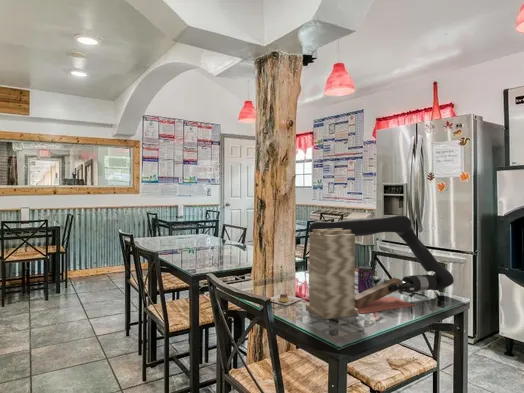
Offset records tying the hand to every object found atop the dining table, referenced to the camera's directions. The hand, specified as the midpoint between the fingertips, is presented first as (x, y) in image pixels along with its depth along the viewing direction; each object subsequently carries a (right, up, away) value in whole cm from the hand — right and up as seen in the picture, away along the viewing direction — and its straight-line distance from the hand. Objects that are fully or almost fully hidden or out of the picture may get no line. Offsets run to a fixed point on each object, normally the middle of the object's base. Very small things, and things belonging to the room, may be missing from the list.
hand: (385, 287), depth 159 cm
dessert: (-44, -8, +5) cm, 45 cm away
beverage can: (-3, -7, +20) cm, 21 cm away
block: (-4, -4, -1) cm, 5 cm away
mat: (-4, -7, -1) cm, 8 cm away
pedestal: (-25, -7, -10) cm, 28 cm away
